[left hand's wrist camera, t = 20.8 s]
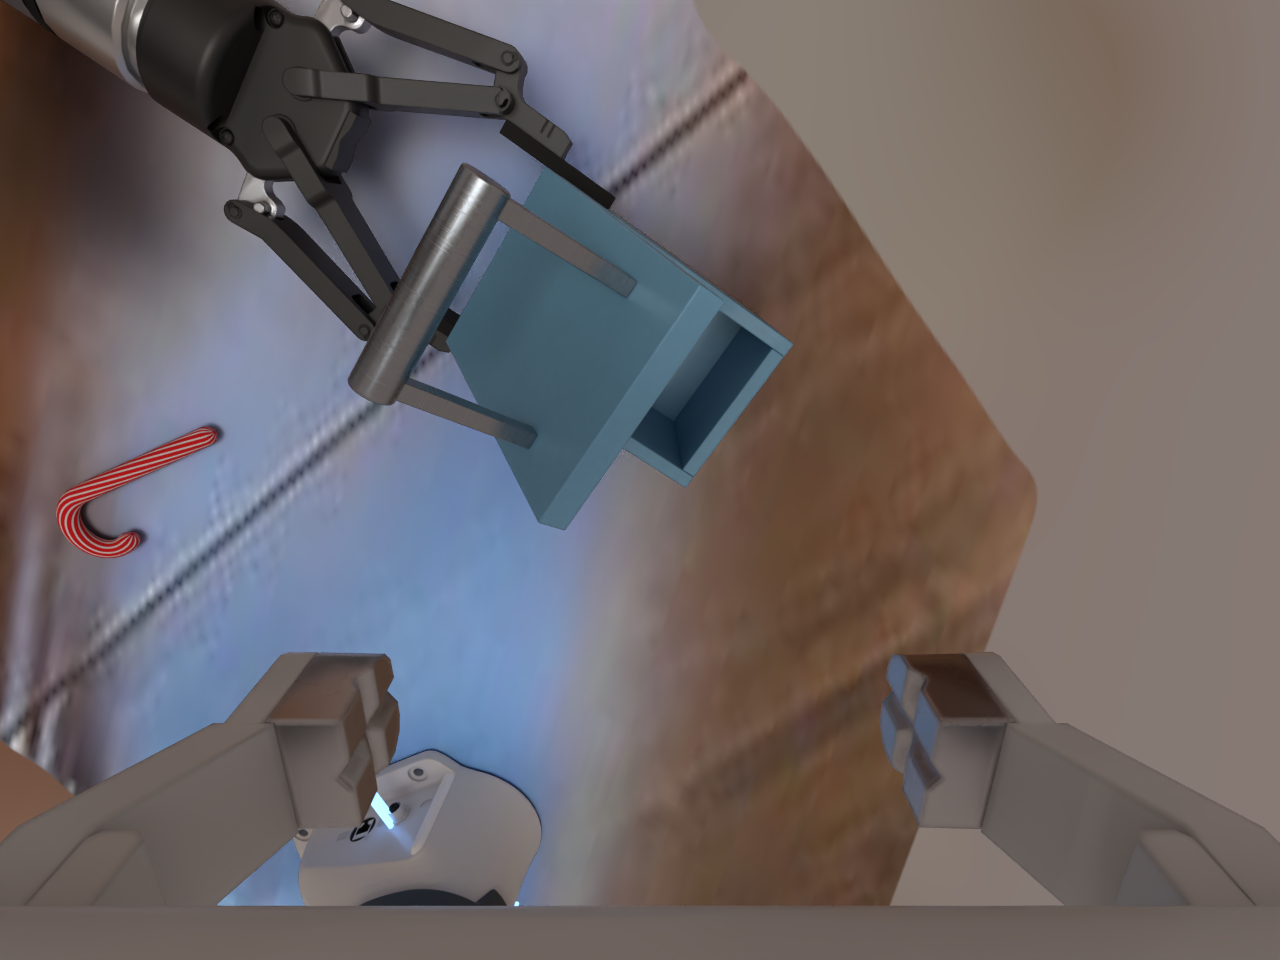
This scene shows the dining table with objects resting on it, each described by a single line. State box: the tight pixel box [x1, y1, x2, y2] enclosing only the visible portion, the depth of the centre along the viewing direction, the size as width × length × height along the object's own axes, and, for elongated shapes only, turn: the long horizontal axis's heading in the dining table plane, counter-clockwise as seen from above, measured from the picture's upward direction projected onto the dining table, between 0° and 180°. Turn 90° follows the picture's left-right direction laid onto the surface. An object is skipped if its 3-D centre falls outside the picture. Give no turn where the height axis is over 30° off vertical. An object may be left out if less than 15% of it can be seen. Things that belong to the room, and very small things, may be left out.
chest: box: [560, 176, 793, 487], centre depth 41 cm, size 15×10×11 cm
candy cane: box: [56, 426, 218, 558], centre depth 50 cm, size 6×15×2 cm, turn 114°
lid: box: [348, 163, 724, 530], centre depth 26 cm, size 15×10×8 cm
